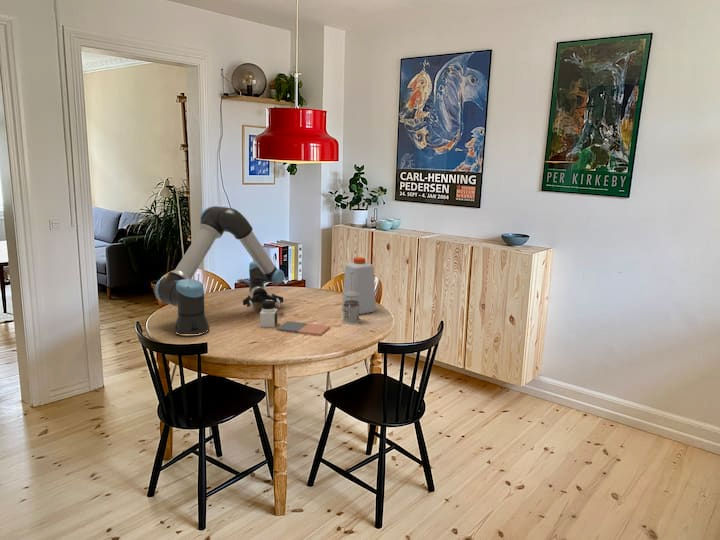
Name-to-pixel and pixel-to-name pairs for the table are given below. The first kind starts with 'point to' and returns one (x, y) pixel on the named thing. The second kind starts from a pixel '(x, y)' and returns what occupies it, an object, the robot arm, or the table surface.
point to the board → (303, 328)
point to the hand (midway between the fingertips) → (265, 305)
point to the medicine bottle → (268, 314)
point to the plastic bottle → (360, 284)
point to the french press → (351, 307)
